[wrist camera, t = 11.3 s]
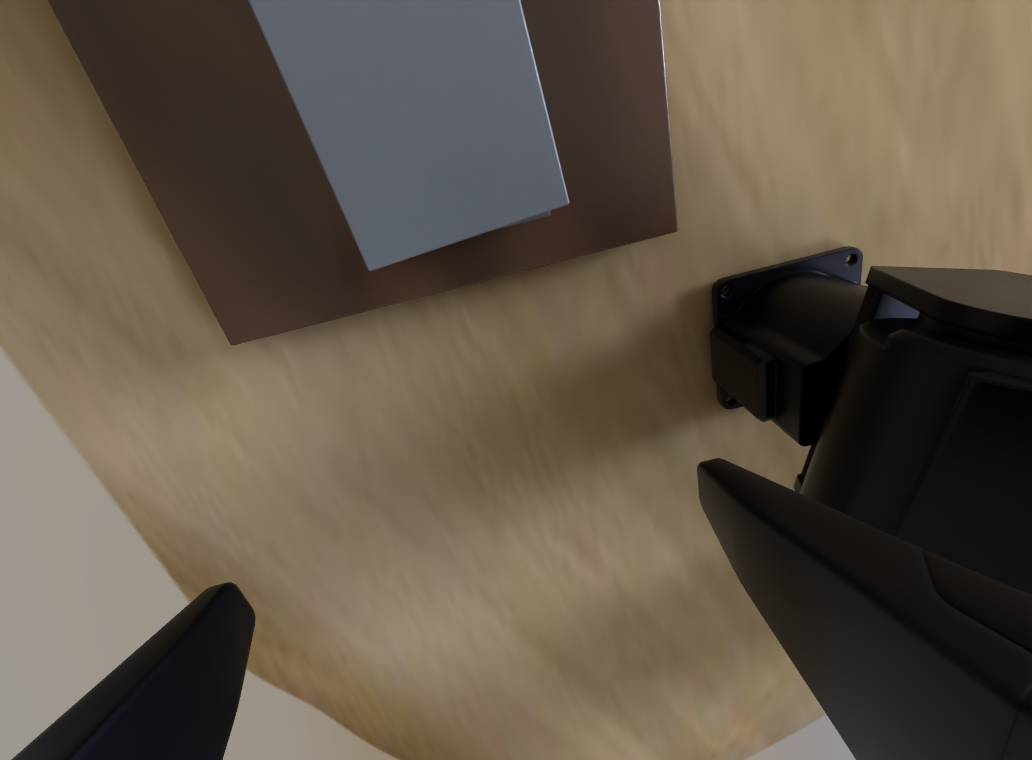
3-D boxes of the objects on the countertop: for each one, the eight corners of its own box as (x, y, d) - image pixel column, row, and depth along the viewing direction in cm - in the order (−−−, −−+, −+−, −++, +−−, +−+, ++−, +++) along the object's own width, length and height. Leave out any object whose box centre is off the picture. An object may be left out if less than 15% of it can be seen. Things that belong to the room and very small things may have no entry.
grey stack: (474, -209, 13) (477, -332, 10) (552, 208, 18) (572, 219, 14) (221, -142, 13) (141, -241, 10) (366, 256, 18) (345, 278, 15)
